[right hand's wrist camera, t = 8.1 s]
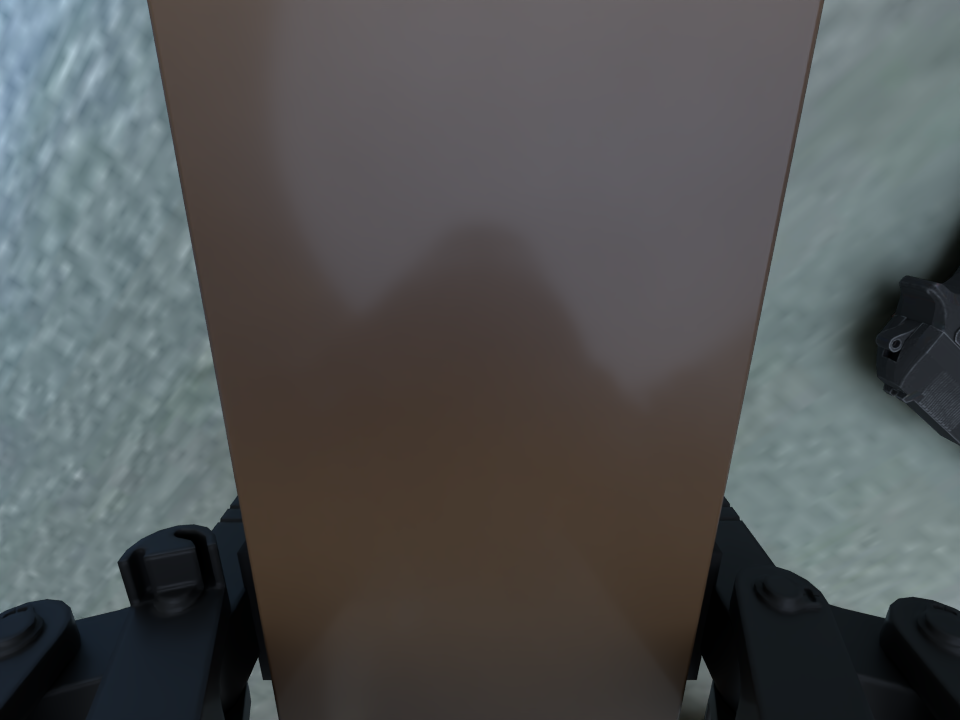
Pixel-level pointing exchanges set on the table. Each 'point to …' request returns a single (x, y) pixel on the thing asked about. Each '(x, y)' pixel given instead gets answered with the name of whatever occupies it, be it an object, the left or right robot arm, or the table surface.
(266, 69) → the beam
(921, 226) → the table surface
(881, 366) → the handgun
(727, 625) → the right robot arm
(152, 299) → the table surface
